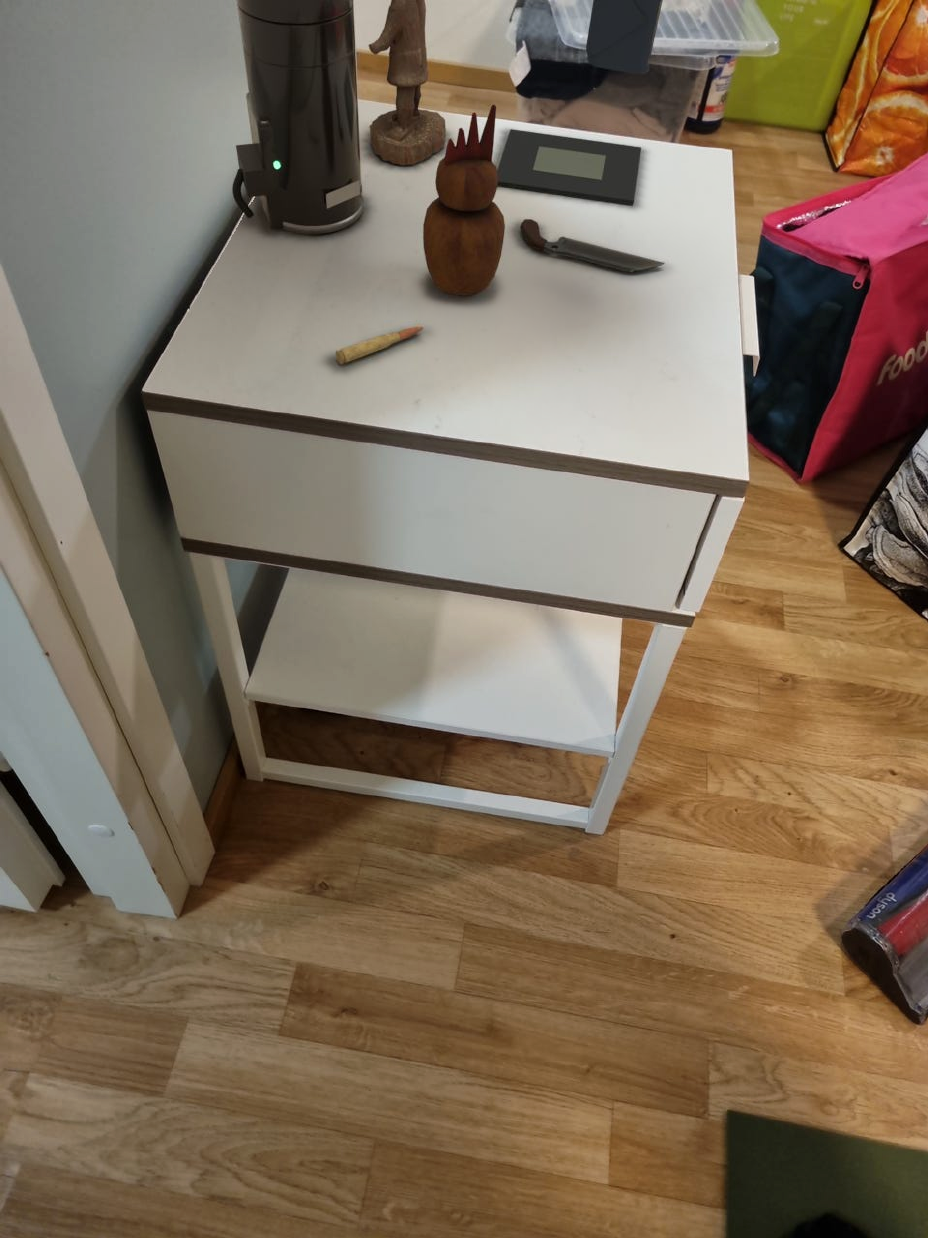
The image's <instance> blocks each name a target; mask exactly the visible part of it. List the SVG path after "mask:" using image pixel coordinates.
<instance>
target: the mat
mask: <svg viewBox="0 0 928 1238" xmlns="http://www.w3.org/2000/svg"><path fill="white" fill-rule="evenodd" d="M641 152H642V147H640V146H634V145H628V144H620V143H612V142H605V141H598V140H592V139H583V138H577V137H569V136H563V135H555V134H549V133H542V132H534V131H533V132H532V131H529V130H528V131H526V130H520V129H513V128H510V130H509V132H508V136H507V139H506V141H505V145H504V148H503V151H502V154H501V157H500V160H499V163H498V166H497V168H496V169H497V173H498V184H497V187H505V188H511V189H518V190H526V191H530V192H531V191H532V192H538V193H544V194H545V193H546V194H552V195H559V196H564V197H565V196H566V197H572V198H579V199H587V200H593V201H601V202H607V203H608V202H609V203H613V204H614V203H615V204H622V205H628V206H633V205H634V202H635V197H636V189H637V182H638V175H639V167H640V161H641Z"/></svg>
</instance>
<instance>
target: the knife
mask: <svg viewBox="0 0 928 1238" xmlns="http://www.w3.org/2000/svg"><path fill="white" fill-rule="evenodd" d="M520 231H521V235H522V236H523V237H524V239H525V241H526V242H527V244H528V245H529V246H531V247H533V248H534V249H536V250H538V251H541V252H547V253H549V254H552V255H557V256H565V257H569V258H570V257H571V258H573V259H578V260H582V261H585V262H589V263H593V264H596V265H597V264H598V265H600V266H604V267H609V268H612V269H616V270H620V271H624V272H629V273H633V272H634V271H644V270H649V269H654V268H658V267H661V266H663V265H665V262H663V261H659V260H655V259H651V258H647V257H643V256H640V255H636V254H631V253H628V252H624V251H620V250H616V249H612V248H609V247H604V246H600V245H597V244H593V243H589V242H585V241H582V240H577V239H573V238H569V237H566V236H560V237H559V238H558V239H557V241H549V240H548V239H546V238H544V237H542V236H541V233H540V226H539V222H537V221H536V220H534V219H531V218H525V219H523V220H522V222H521V224H520Z"/></svg>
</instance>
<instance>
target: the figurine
mask: <svg viewBox="0 0 928 1238" xmlns="http://www.w3.org/2000/svg"><path fill="white" fill-rule="evenodd" d="M426 17H427V6H426V0H390V5H389V6H388V9H387V13H386V19H385V23H384V27H383V29H382V31H381V33H380V35H379V37H378V38H377V39H376V40H375V41H373V42H371V43H369V44H368V48H369V50H370V52H371V53H372V54H373V55H375V56H377V55H379V53H381V52H386V51H388V50H389V51H388V68H387V74H386V81H387V83H388V84H389V85H390V86H393V87H395V88H396V96H395V109H394V110H390V111H387V112H385V113H383V114H380V115H379V116H377V118H376V119H374V120H373V121H372V122H371V124H370V125H369V135H370V145H371V147H372V148H373V149H374V150H373V151H374V152H373V153H374V154H375V155H378V156H380V157H381V159H382V160H383V161H385V162H386V161H387V162H390V163H391V164H393V165H394V164H396V165H400V166H406V165H407V166H409V165H415V164H416V163H421V162H423V161H424V160H426V159H430V157H431V155H433V154H437V153H439V152H440V150H441V149H442V148H444V147H445V141H446V136H447V128H446V119H445V118H444V117H443V116H442V115H441V114H439V112H435V111H430V110H428V109H420V108H419V106H420V101H421V98H422V92H421V91H422V90H421V89H422V88H421V87H422V85H424V84H425V83H427V81H428V79H429V67H428V56H427V55H428V53H427V45H426V20H427V19H426Z"/></svg>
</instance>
